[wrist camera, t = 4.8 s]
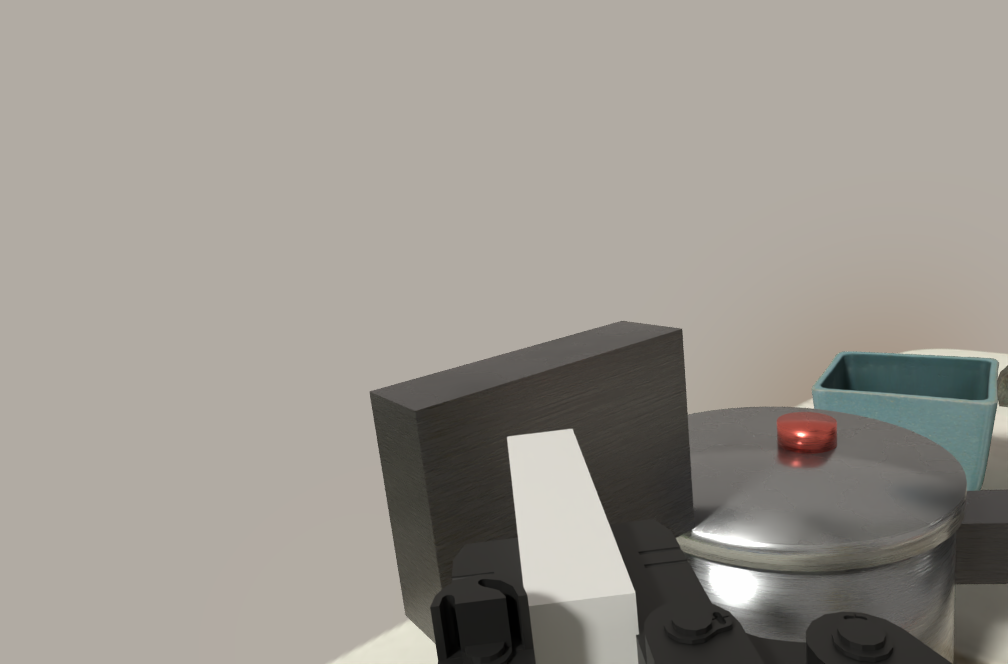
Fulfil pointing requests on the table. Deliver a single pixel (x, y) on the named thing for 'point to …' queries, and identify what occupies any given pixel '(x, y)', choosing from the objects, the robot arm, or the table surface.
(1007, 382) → the sword in stone
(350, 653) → the table surface
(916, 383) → the flower pot
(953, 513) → the lid
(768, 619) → the pot
